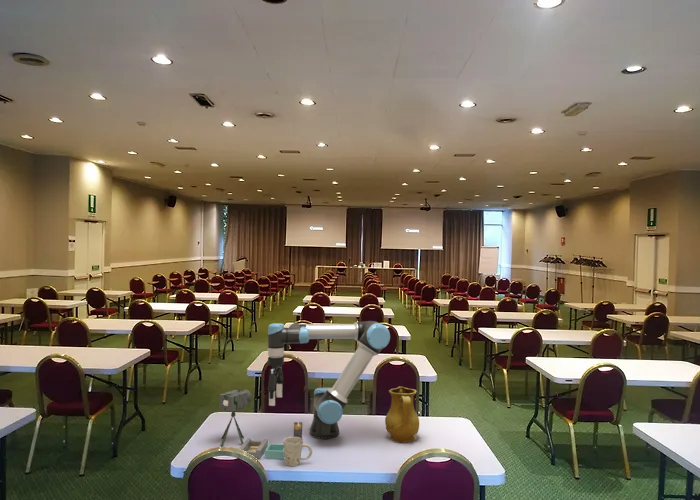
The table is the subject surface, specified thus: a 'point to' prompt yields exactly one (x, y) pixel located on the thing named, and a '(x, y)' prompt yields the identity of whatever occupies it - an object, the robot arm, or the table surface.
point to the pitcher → (402, 416)
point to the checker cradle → (255, 447)
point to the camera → (234, 407)
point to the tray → (275, 451)
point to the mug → (294, 450)
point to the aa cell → (297, 429)
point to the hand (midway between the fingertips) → (275, 401)
